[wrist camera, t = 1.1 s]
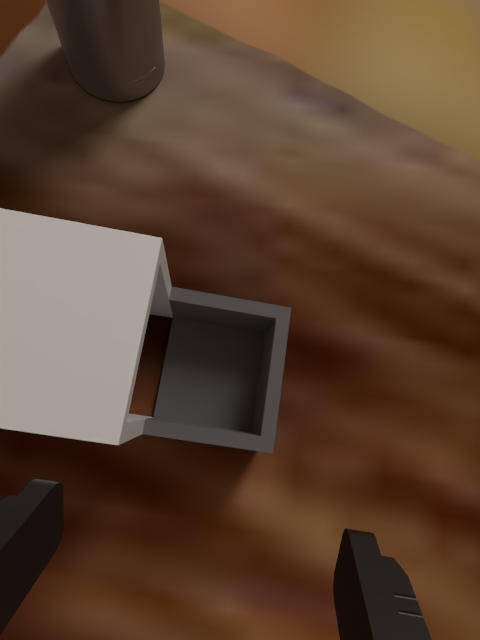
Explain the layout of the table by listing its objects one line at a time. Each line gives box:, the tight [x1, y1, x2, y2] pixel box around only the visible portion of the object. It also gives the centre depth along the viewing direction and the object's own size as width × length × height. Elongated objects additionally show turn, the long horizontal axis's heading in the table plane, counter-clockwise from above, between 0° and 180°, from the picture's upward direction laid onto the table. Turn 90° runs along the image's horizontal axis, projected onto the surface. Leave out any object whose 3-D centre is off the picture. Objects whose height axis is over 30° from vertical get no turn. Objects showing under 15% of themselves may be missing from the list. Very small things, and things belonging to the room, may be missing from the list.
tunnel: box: [0, 208, 173, 445], centre depth 26 cm, size 10×11×14 cm
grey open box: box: [142, 287, 291, 453], centre depth 31 cm, size 10×9×6 cm
